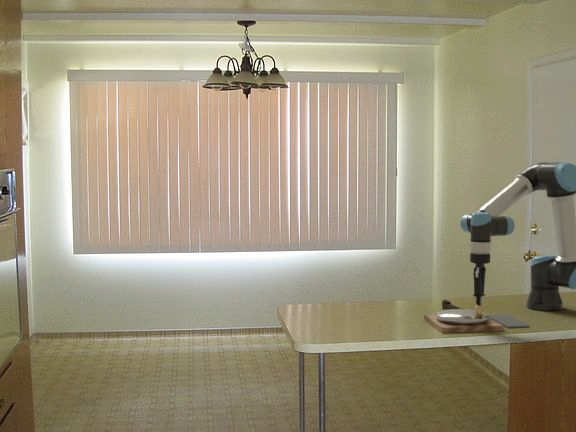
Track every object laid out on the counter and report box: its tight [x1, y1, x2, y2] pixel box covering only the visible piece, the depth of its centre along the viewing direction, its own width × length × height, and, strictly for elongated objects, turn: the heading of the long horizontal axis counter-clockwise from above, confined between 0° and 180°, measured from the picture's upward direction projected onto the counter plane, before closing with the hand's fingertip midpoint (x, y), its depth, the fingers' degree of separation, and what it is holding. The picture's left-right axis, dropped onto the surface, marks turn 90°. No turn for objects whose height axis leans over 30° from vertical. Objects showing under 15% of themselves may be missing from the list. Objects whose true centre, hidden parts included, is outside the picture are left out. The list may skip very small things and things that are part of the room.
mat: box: [488, 313, 530, 329], centre depth 305 cm, size 9×22×1 cm, turn 6°
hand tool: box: [441, 299, 464, 310], centre depth 324 cm, size 19×4×5 cm, turn 9°
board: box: [423, 313, 504, 334], centre depth 300 cm, size 24×24×2 cm
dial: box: [436, 305, 489, 325], centre depth 299 cm, size 20×20×7 cm
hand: (478, 312), depth 294 cm, fingers closed
